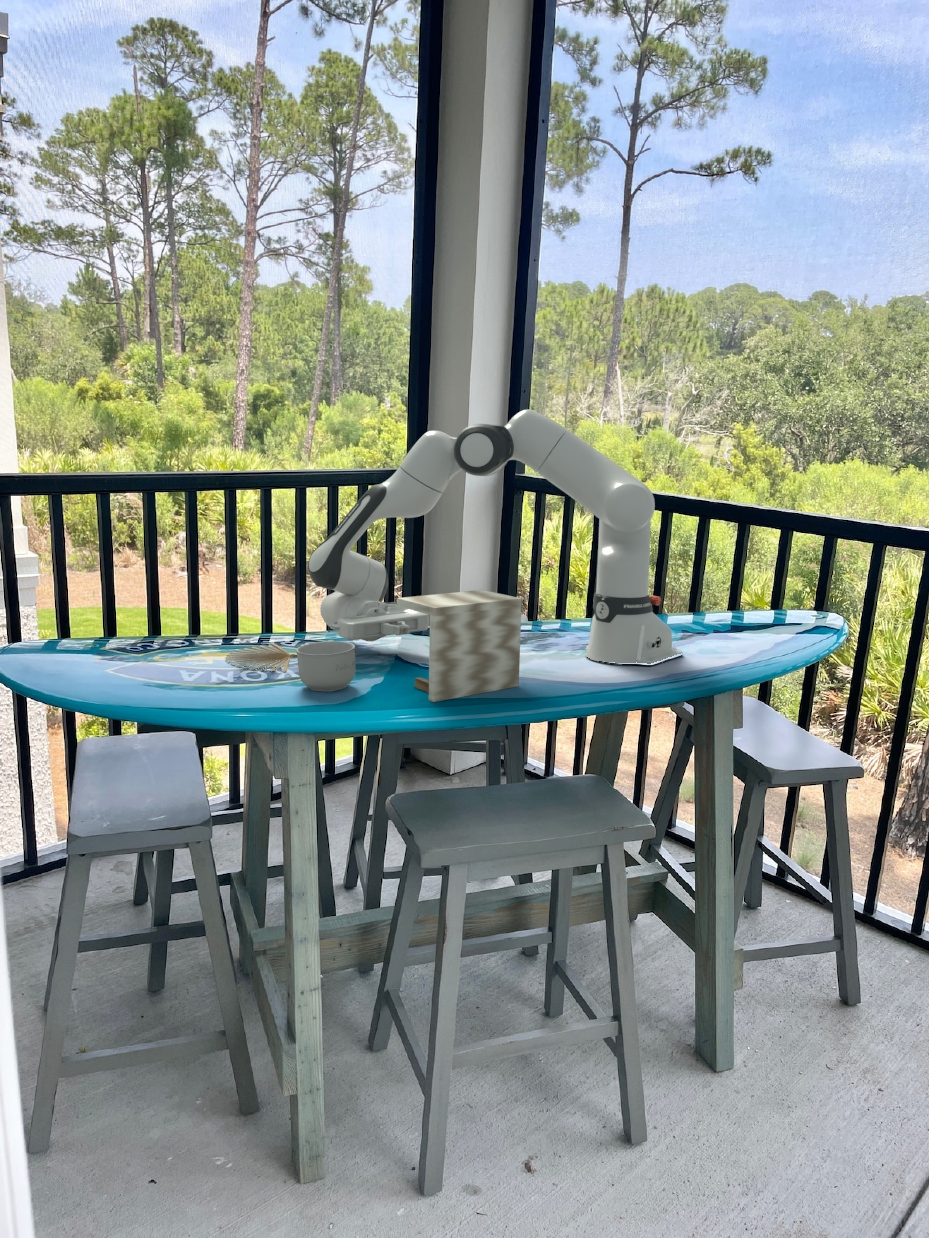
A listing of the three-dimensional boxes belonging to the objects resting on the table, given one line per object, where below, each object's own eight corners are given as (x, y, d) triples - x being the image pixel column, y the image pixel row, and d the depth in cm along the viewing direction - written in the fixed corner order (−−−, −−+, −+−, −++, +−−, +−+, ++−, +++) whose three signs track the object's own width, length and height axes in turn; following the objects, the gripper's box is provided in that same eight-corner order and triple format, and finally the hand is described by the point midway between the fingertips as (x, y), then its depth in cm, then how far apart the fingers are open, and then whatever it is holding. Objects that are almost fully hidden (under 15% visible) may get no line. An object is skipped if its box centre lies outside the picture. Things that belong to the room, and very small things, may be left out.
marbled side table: (479, 672, 180) (481, 589, 177) (518, 686, 171) (521, 598, 168) (396, 687, 168) (397, 598, 165) (433, 702, 159) (435, 607, 156)
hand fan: (291, 645, 204) (223, 647, 199) (291, 641, 203) (223, 644, 199) (304, 673, 179) (227, 676, 175) (304, 669, 179) (227, 672, 174)
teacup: (345, 697, 161) (345, 654, 160) (288, 693, 163) (287, 650, 161) (366, 678, 175) (366, 638, 173) (313, 675, 176) (312, 635, 175)
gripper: (325, 610, 187) (359, 620, 177) (406, 601, 200) (443, 610, 189) (326, 640, 189) (360, 652, 178) (407, 629, 201) (443, 639, 190)
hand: (403, 630), depth 184 cm, fingers closed
